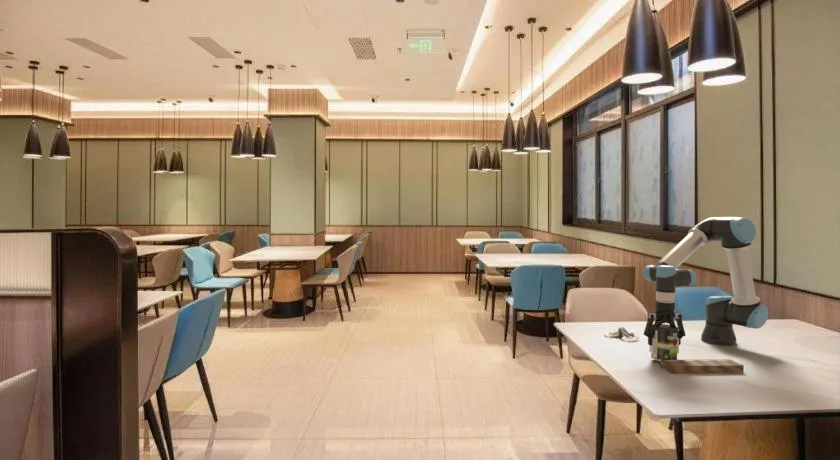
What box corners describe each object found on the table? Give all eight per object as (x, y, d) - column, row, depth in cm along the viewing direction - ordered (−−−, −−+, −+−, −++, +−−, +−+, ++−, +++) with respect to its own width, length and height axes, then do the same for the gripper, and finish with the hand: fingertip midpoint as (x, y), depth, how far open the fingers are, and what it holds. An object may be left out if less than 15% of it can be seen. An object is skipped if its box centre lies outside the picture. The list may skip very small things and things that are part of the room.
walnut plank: (729, 366, 203) (729, 359, 203) (743, 372, 195) (743, 365, 195) (660, 366, 201) (660, 359, 201) (671, 373, 193) (671, 365, 193)
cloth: (636, 345, 236) (637, 332, 236) (598, 338, 248) (598, 327, 248) (648, 336, 254) (648, 324, 254) (611, 330, 265) (612, 319, 265)
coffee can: (682, 360, 206) (683, 327, 205) (667, 363, 201) (667, 330, 200) (660, 354, 215) (661, 322, 214) (645, 357, 210) (646, 325, 210)
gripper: (685, 299, 211) (684, 349, 212) (635, 299, 210) (634, 350, 211) (696, 302, 204) (694, 354, 205) (644, 303, 203) (643, 355, 203)
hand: (663, 352), depth 208 cm, fingers closed on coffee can, 10 cm apart
